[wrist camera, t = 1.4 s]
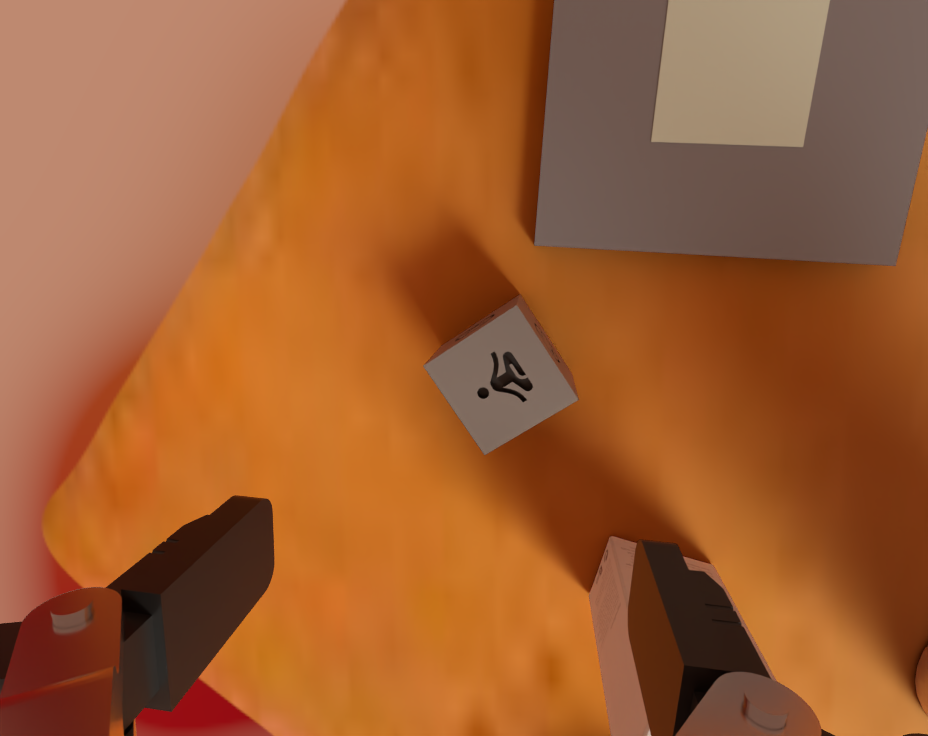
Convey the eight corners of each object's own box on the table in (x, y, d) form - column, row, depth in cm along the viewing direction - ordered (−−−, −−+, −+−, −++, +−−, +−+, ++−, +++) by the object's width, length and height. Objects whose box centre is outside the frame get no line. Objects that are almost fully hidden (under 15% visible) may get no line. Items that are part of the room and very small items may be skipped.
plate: (965, -137, 22) (996, -165, 21) (875, 264, 26) (896, 266, 25) (564, -129, 24) (566, -154, 23) (534, 245, 28) (534, 245, 26)
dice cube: (571, 373, 29) (578, 399, 24) (492, 421, 30) (484, 455, 25) (520, 293, 29) (516, 304, 24) (441, 345, 30) (423, 366, 25)
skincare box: (586, 596, 32) (614, 799, 20) (609, 532, 31) (652, 707, 19) (690, 627, 31) (780, 852, 20) (717, 563, 30) (827, 762, 19)
